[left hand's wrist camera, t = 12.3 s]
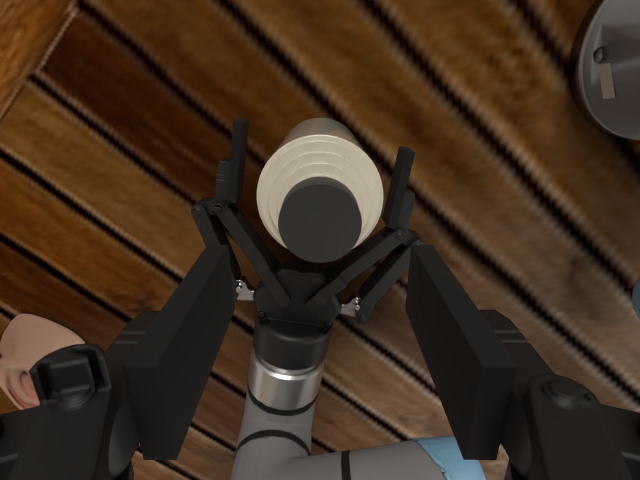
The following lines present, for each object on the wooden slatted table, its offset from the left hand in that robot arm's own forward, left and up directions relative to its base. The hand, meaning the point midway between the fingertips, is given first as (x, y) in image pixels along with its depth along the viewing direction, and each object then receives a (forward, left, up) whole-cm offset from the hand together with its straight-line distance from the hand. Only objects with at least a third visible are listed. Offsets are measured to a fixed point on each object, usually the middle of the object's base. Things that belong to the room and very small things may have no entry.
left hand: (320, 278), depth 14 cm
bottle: (0, 0, -25) cm, 25 cm away
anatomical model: (+9, +40, -25) cm, 48 cm away
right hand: (+2, -3, -19) cm, 19 cm away
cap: (0, 0, -6) cm, 6 cm away
